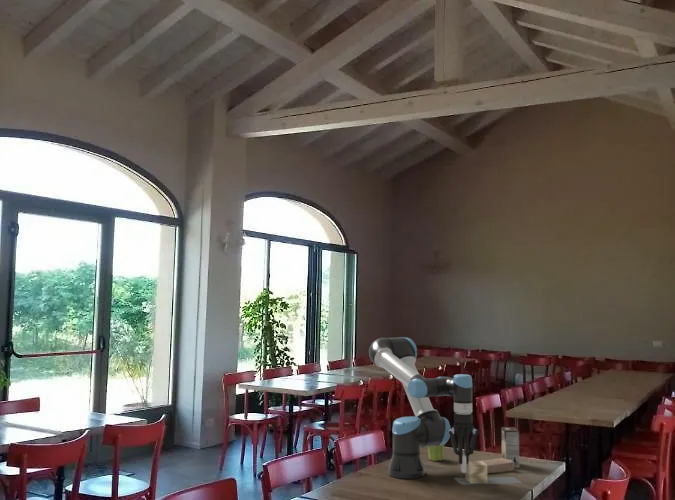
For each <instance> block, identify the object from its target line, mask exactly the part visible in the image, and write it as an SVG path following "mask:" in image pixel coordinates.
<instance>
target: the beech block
mask: <svg viewBox="0 0 675 500" xmlns="http://www.w3.org/2000/svg"><path fill="white" fill-rule="evenodd" d="M464 475H465V476H464V478H466V480H467V481H469V482H470V483H487V477H488V473H487V465H486V464H485V463H484V462H482V461H480V460H470V461H469V463H468V464H466V473H464Z"/></svg>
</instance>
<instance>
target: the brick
mask: <svg viewBox="0 0 675 500" xmlns="http://www.w3.org/2000/svg"><path fill="white" fill-rule="evenodd" d="M479 461H482V462H484V463H485V464H486V465H487V474H491V473H492V474H494V473H495V474H496V473H502V472H513V471H514V470H515V467H514V462H513V461H512V460H509V459H504V458H502V457H499V458H494V459H481V460H479Z"/></svg>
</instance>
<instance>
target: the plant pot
mask: <svg viewBox="0 0 675 500" xmlns="http://www.w3.org/2000/svg"><path fill="white" fill-rule="evenodd" d="M445 445H446V443H445V444H443V445H439V446H431V447H427V453H428V460H429V461H434V462H438V461H443V458H444V450H445V449H444V448H445Z"/></svg>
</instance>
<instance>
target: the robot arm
mask: <svg viewBox="0 0 675 500" xmlns="http://www.w3.org/2000/svg"><path fill="white" fill-rule="evenodd" d="M417 351H418V349H417V345H416V344H415V341H414V340H412V339H411V338H409V337H403V336H398V337H379V338H377V339H376V340H374V341H372V342H371V345H369V349H368V356H369V359H370V361H371V362H372V363H373V364H374V365H376V367H377V368H382V369H384V370H385V371H386V372H388V373H389V374H390V375H392V376H393V377H394V378H395V379H396V380H398V381H399V382H401V385H402V386H403V389H404V391H405V394H406V396H407V399H408V401H409V404H410V406H411V409H412V411H413V414H414V416H413V415H412V416H411V415H410V416H402V417H398V418H396V419H395V420H394V421H393V423H392V430H391V431H392V455H391V460H390V463H389V466H388V475H389V476H390V477H393V478H398V479H405V480H406V479H407V480H408V479H409V480H410V479H419V478H422V477H424V476H425V466H424V464H423V461H422V457H421V448H428V447H431V446H439V445H443V444H445V445H446V444H447V442H448V441H449V439H450V441H451V445H452V451H453V453H454V454H455V455H457V456H458V464H459V465H460V472H461V473H462V474H463V473H464V474H465V473H466V464H468V463H469V457H470V455H473V454H474V451H475V447H476V442H477V438H478V435H479V434H480V430H478V429H477V428H475V426H474V425H473V424H474V423H473V422H474V421H473V386H474V385H473V378H472V375H470V374H465V373H463V374H461V373H459V374H458V373H457V374H455V375H453V377H450V376H438V377H433V378H425V376H423V375H422V374H420V373H419V372H418V369H417V367H416V365H415V364H416V361H417V356H418V352H417ZM444 396H446V397H447V396H448V397H453V412H454V413H453V425H452V428H451V425H450V422H449V420H448V419H447V418H446V417H444V416H441V414H440V413H439V411H438V410H437V409H434V407H433V404H432V403H431V400H430V398H432V397H433V398H434V397H444ZM455 433H456V435H457V442H456V439H455V438H456V437H455V435H454V434H455ZM471 433H472V435H471ZM470 435H471V439H470ZM463 440H464V441H463ZM463 443H464V444H463ZM463 445H464V446H463ZM463 451H464V454H463Z"/></svg>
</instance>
